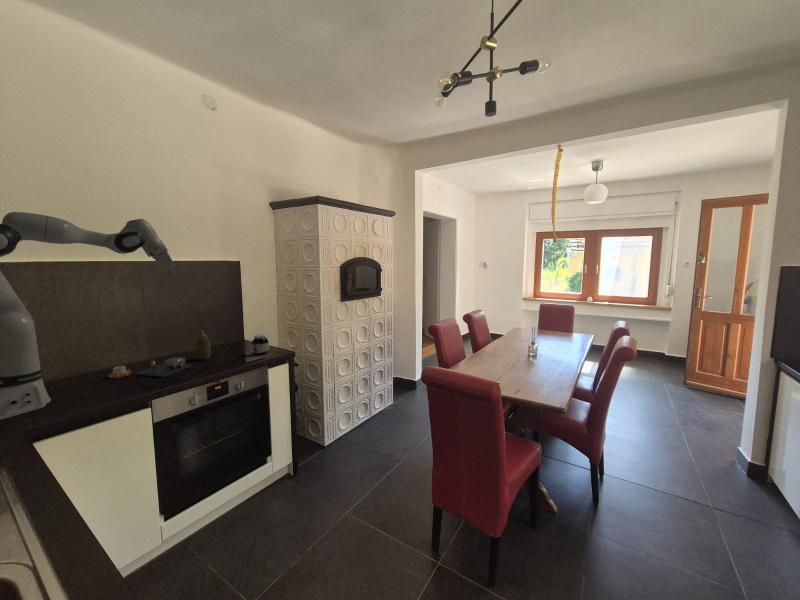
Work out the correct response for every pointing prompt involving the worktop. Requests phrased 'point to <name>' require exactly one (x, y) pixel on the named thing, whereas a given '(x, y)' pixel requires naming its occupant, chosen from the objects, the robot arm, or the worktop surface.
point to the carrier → (165, 367)
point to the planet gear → (119, 372)
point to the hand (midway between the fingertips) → (172, 274)
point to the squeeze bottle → (203, 346)
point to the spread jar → (258, 345)
